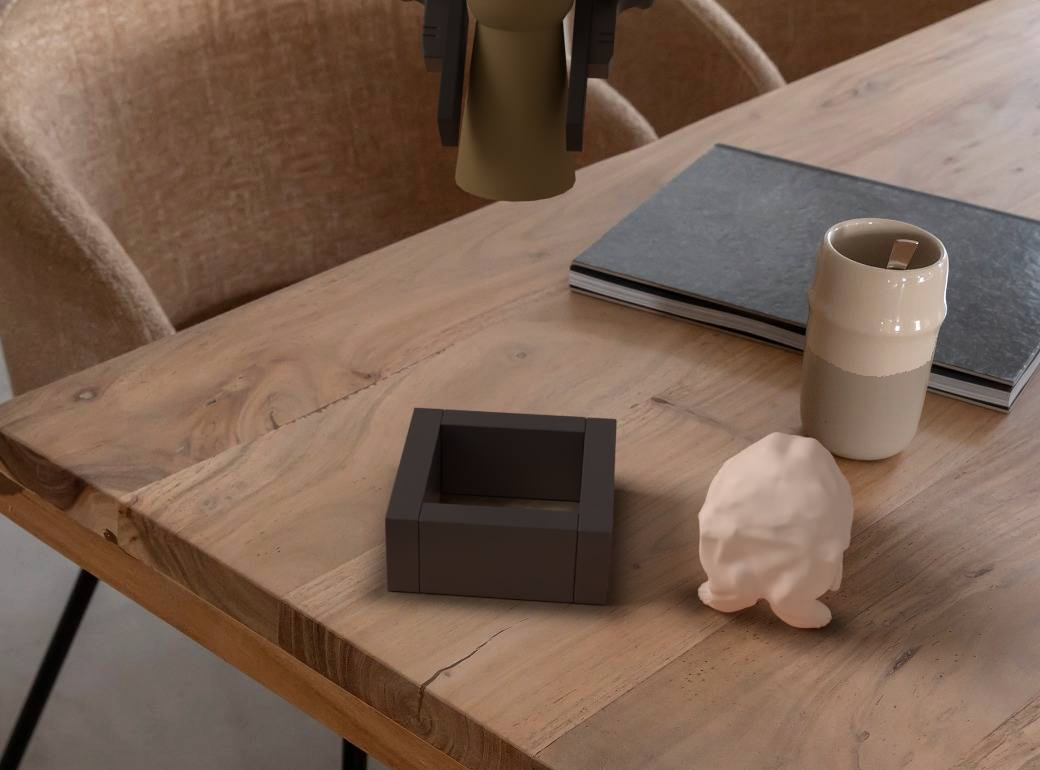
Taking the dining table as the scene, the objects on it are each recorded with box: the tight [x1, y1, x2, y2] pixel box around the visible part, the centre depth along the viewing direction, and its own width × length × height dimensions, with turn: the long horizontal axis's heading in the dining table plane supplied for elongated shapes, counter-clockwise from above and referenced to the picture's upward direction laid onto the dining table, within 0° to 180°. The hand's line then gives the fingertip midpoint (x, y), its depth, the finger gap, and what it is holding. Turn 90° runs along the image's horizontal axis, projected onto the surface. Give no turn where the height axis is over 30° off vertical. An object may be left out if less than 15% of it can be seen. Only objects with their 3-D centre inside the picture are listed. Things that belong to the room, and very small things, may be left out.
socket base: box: [384, 407, 618, 606], centre depth 69 cm, size 10×10×4 cm
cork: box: [454, 0, 577, 203], centre depth 70 cm, size 6×6×11 cm
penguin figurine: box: [697, 431, 855, 629], centre depth 65 cm, size 6×8×12 cm
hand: (510, 134), depth 68 cm, fingers closed on cork, 5 cm apart
